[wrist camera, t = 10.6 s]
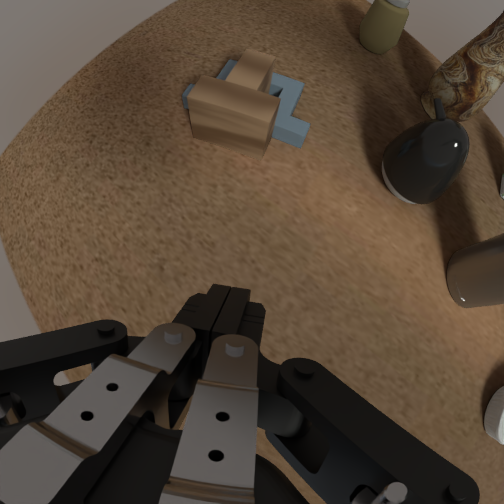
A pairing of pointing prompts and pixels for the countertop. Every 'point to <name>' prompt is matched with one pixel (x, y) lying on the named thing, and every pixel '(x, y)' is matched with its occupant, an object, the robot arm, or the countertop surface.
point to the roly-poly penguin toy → (425, 158)
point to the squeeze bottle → (383, 25)
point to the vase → (469, 75)
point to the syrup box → (502, 187)
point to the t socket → (289, 93)
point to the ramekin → (495, 416)
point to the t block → (237, 106)
